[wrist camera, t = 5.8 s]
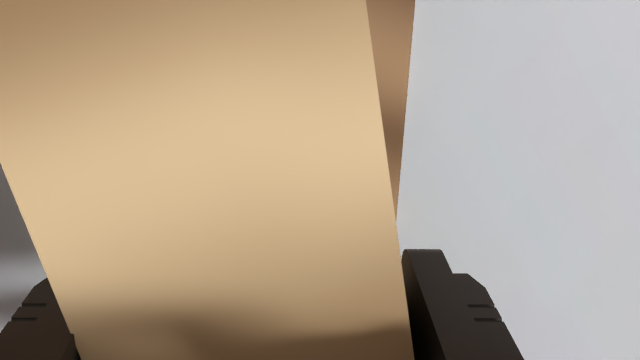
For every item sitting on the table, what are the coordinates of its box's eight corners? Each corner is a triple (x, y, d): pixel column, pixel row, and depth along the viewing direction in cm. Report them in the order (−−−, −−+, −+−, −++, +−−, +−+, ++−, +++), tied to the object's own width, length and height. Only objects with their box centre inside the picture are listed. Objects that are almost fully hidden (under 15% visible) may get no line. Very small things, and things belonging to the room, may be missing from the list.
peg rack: (383, 317, 28) (427, 503, 19) (170, 317, 28) (110, 508, 18) (423, -164, 21) (530, -245, 11) (131, -176, 20) (-5, -270, 11)
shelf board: (43, -68, 10) (-96, -69, 7) (326, -122, 10) (344, -152, 6) (227, 494, 16) (208, 666, 12) (414, 464, 16) (451, 629, 12)
